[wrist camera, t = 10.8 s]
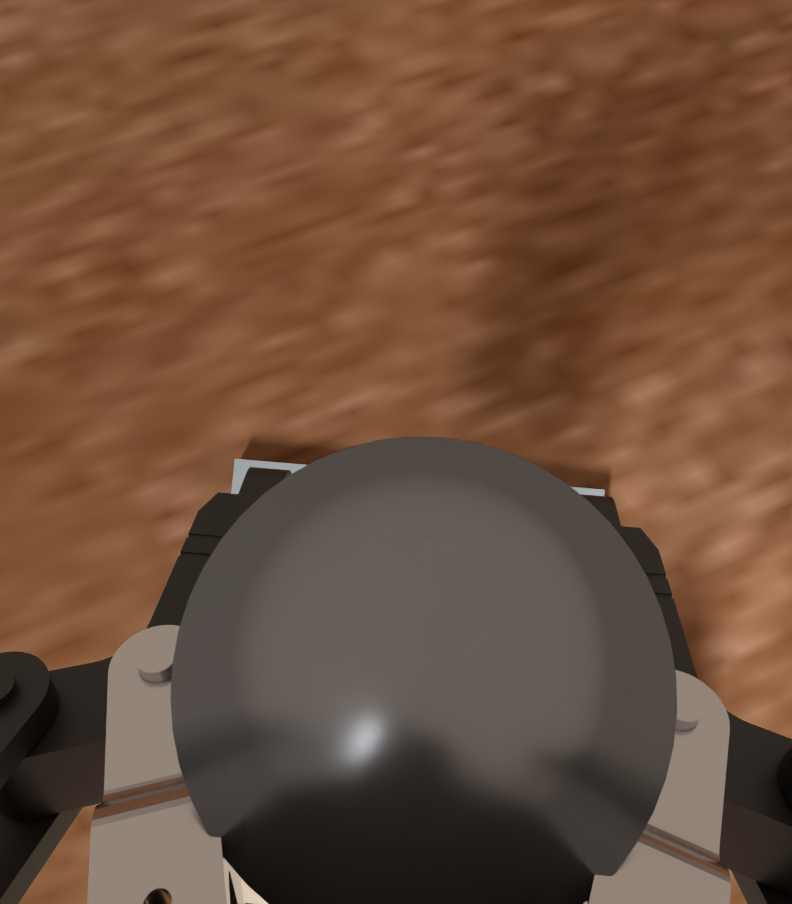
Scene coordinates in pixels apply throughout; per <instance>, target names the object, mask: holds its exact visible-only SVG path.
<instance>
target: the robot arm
mask: <svg viewBox="0 0 792 904" xmlns="http://www.w3.org/2000/svg"><path fill="white" fill-rule="evenodd" d="M290 474H291V471H290V470H281V469H269V468H256V467H250V468H249V469H248V470H247V472H246V475H245V478H244V480H243V483H242V485H241V488H240V491H239V493H238V494H229V493H217V494H216V495H215V496H214V497H213V498H212V499H211V500H210V501H209V502H208V503H207V504H205V505H204V506H203V507H202V508H201V509H200V510H199V511H198V513H197V515H196V518H195V520H194V522H193V525H192V527H191V529H190V531H189V537H188V538H186V541H185V543H184V545H183V548H182V550H181V555H180V556H179V557H178V559H177V561H176V564H175V566H174V568H173V570H172V573H171V575H170V577H169V580H168V582H167V584H166V587H165V589H164V591H163V593H162V596H161V598H160V600H159V603H158V605H157V607H156V609H155V612H154V614H153V616H152V619H151V621H150V623H149V625H148V627H147V628H146V629H145V630H143V631H140V632H138V633H137V634H135V635H133V636H132V637H130V638H129V639H128V640H126V641H125V642H124V643H123V644H122V645H121V646H120V647H119V648H118V650H117V651H116V652H115V654H114V656H112V657H110V658H107V659H104V660H102V661H98V662H94V663H89V664H84V665H79V666H73V667H68V668H63V669H58V670H53V671H48V670H47V668H46V665H45V664H44V663H43V662H42V661H41V660H40V659H39V658H37V657H36V656H34V655H31V654H28V653H24V652H5V653H0V904H18V903H19V901H20V900H21V898H22V897H23V895H24V894H25V892H26V891H27V889H28V888H29V886H30V885H31V883H32V882H33V880H34V879H35V877H36V876H37V874H38V873H39V871H40V870H41V868H42V867H43V865H44V864H45V863H46V861H47V860H48V858H49V857H50V855H51V854H52V852H53V851H54V849H55V848H56V846H57V845H58V843H59V842H60V840H61V839H62V837H63V836H64V834H65V833H66V831H67V830H68V828H69V827H70V825H71V824H72V822H73V821H74V819H75V818H76V816H77V815H78V813H79V812H80V810H81V809H82V807H85V806H90V805H94V804H98V803H101V804H99V805H97V806H96V807H95V810H94V813H93V818H92V825H91V838H90V859H89V880H88V902H87V904H244V899H243V892H242V885H241V879H240V876H239V875H238V874H237V873H236V871H235V870H234V869H233V868H232V867H231V866H230V864H229V863H228V862H227V861H226V860H225V859H224V857H223V850H222V842H221V838H220V837H210V836H209V834H208V833H207V831H206V830H205V828H204V826H203V824H202V821H201V819H200V817H199V815H198V813H197V811H196V809H195V807H194V805H193V803H192V801H191V799H190V796H189V793H188V790H187V787H186V784H185V781H184V778H183V775H182V772H181V769H180V766H179V761H178V756H177V751H176V746H175V741H174V736H173V729H172V714H171V699H170V696H171V678H172V663H173V657H174V652H175V647H176V641H177V636H178V630H179V627H180V624H181V621H182V618H183V615H184V612H185V609H186V605H187V602H188V599H189V597H190V595H191V593H192V590H193V588H194V586H195V584H196V582H197V580H198V577H199V575H200V573H201V571H202V569H203V567H204V566H205V564H206V562H207V561H208V559H209V558H210V556H211V554H212V553H213V551H214V550H215V548H216V546H217V545H218V543H219V542H220V540H221V539H222V538H223V537H224V535H225V534H226V533H227V532H228V530H229V529H230V528H231V527H232V526H233V524H234V523H235V522H236V521H237V520H238V518H239V517H240V516H241V515H242V514H243V513H244V512H245V511H246V510H247V509H248V508H249V507H250V506H251V505H252V504H254V503H255V502H256V501H257V500H258V499H259V498H260V497H261V496H262V495H263V494H264V493H266V492H267V491H268V490H270V489H271V488H272V487H274V486H275V485H277V484H278V483H279V482H281V481H282V480H283V479H285V478H286V477H288V476H289V475H290ZM580 495H582V494H580ZM582 496H583V497H584V498H586V499H587V500H588V501H589V502H590V503H591V504H592V505H593V506H594V507H595V508H596V509H597V510H598V511H599V512H600V513H601V514H602V515H603V516H604V517H605V518H606V519H607V520H608V521H609V522H610V523H611V524H612V526H613V527H614V528H615V530H616V531H617V532H618V533H619V535H620V536H621V537H622V539H623V540H624V541H625V542H626V544H627V545H628V546H629V548H630V549H631V550H632V552H633V554H634V556H635V557H636V559H637V561H638V562H639V564H640V566H641V567H642V569H643V571H644V572H645V574H646V576H647V577H648V580H649V582H650V584H651V587H652V589H653V591H654V593H655V596H656V598H657V600H658V603H659V605H660V607H661V610H662V613H663V617H664V620H665V624H666V627H667V630H668V634H669V637H670V641H671V646H672V652H673V659H674V665H675V671H676V686H677V718H676V728H675V738H674V746H673V751H672V755H671V759H670V764H669V768H668V772H667V777H666V780H665V783H664V786H663V788H662V791H661V794H660V796H659V799H658V802H657V804H656V807H655V810H654V812H653V814H652V816H651V818H650V820H649V821H648V823H647V825H646V827H645V829H644V831H643V833H642V834H641V836H640V838H639V840H638V842H637V844H636V845H635V846H634V848H633V849H632V850H631V852H630V853H629V855H628V856H627V857H626V859H625V860H624V861H623V863H622V864H621V866H620V867H619V868H618V870H617V871H616V872H615V873H614V874H613V875H612V876H602V875H595V876H594V879H593V882H592V886H591V889H590V892H589V896H588V899H587V901H586V902H585V903H583V904H730V891H731V888H730V875H729V871H728V869H730V870H731V871H732V873H733V875H734V877H735V879H736V881H737V883H738V885H739V887H740V889H741V891H742V893H743V895H744V897H745V899H746V901H747V903H748V904H792V739H790V738H787V737H785V736H782V735H779V734H777V733H774V732H771V731H769V730H766V729H763V728H761V727H758V726H755V725H753V724H750V723H748V722H746V721H743V720H741V719H739V718H737V717H736V716H734V715H732V714H731V713H729V712H728V711H726V709H725V707H724V705H723V703H722V702H721V700H720V699H719V697H718V696H717V695H716V694H715V693H714V692H713V691H712V690H711V689H710V688H709V687H708V686H707V685H706V684H704V683H703V682H702V681H700V680H699V679H698V677H697V674H696V672H695V669H694V666H693V662H692V659H691V656H690V652H689V649H688V646H687V642H686V639H685V636H684V633H683V629H682V626H681V623H680V619H679V616H678V613H677V609H676V606H675V603H674V599H672V598H671V596H672V593H671V590H670V586H669V583H668V580H667V579H666V573H665V570H664V566H663V563H662V560H661V556H660V553H659V550H658V549H657V548H656V546H655V545H654V544H653V543H652V542H651V540H650V539H649V538H648V537H647V536H646V534H645V533H644V532H643V531H642V529H641V528H634V527H622V526H621V525H620V521H619V517H618V513H617V509H616V505H615V502H614V500H613V498H612V497H607V496H595V495H582ZM245 904H252V903H245Z"/></svg>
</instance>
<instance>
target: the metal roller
mask: <svg viewBox="0 0 792 904" xmlns="http://www.w3.org/2000/svg"><path fill="white" fill-rule="evenodd" d="M170 699H171V714H172V729H173V736H174V741H175V746H176V751H177V756H178V761H179V766H180V769H181V772H182V775H183V778H184V781H185V784H186V787H187V790H188V793H189V796H190V799H191V801H192V803H193V805H194V807H195V809H196V811H197V813H198V815H199V817H200V819H201V821H202V824H203V826H204V828H205V830H206V831H207V833H208V834H209V836H210V837H220V838H221V842H222V850H223V857H224V859H225V860H226V861H227V862H228V863H229V864H230V866H231V867H232V868H233V869H234V870H235V871H236V873H237V874H238V875H239V876H240V877H241V878H242V880H243V881H244V882H245V883H246V884H247V885H248V886H249V887H250V888H251V889H252V890H253V891H255V892H256V893H257V894H258V895H259V896H260V897H261V898H262V899H264V900H265V901H266V902H267V903H268V904H583V903H585V902H586V901H587V899H588V896H589V892H590V889H591V886H592V882H593V879H594V876H595V875H602V876H612V875H613V874H614V873H615V872H616V871H617V870H618V868H619V867H620V866H621V864H622V863H623V861H624V860H625V859H626V857H627V856H628V855H629V853H630V852H631V850H632V849H633V848H634V846H635V845H636V844H637V842H638V840H639V838H640V836H641V834H642V833H643V831H644V829H645V827H646V825H647V823H648V821H649V820H650V818H651V816H652V814H653V812H654V810H655V807H656V804H657V802H658V799H659V796H660V794H661V791H662V788H663V786H664V783H665V780H666V777H667V772H668V768H669V764H670V759H671V755H672V751H673V746H674V738H675V728H676V718H677V686H676V671H675V665H674V659H673V652H672V646H671V641H670V637H669V634H668V630H667V627H666V624H665V620H664V617H663V613H662V610H661V607H660V605H659V603H658V600H657V598H656V596H655V593H654V591H653V589H652V587H651V584H650V582H649V580H648V577H647V576H646V574H645V572H644V571H643V569H642V567H641V566H640V564H639V562H638V561H637V559H636V557H635V556H634V554H633V552H632V550H631V549H630V548H629V546H628V545H627V544H626V542H625V541H624V540H623V539H622V537H621V536H620V535H619V533H618V532H617V531H616V530H615V528H614V527H613V526H612V524H611V523H610V522H609V521H608V520H607V519H606V518H605V517H604V516H603V515H602V514H601V513H600V512H599V511H598V510H597V509H596V508H595V507H594V506H593V505H592V504H591V503H590V502H589V501H588V500H587V499H586V498H584V497H583V496H582V495H580V494H579V493H578V492H577V491H575V490H574V489H573V488H571V487H570V486H569V485H567V484H566V483H565V482H564V481H562V480H561V479H559V478H558V477H556V476H554V475H552V474H551V473H549V472H547V471H546V470H544V469H542V468H541V467H539V466H537V465H535V464H534V463H532V462H529V461H527V460H525V459H522V458H520V457H517V456H515V455H513V454H510V453H508V452H506V451H503V450H500V449H496V448H493V447H489V446H486V445H482V444H478V443H475V442H470V441H463V440H456V439H450V438H443V437H403V438H394V439H385V440H377V441H373V442H369V443H365V444H361V445H357V446H353V447H349V448H346V449H343V450H341V451H338V452H336V453H333V454H331V455H328V456H325V457H323V458H320V459H318V460H316V461H314V462H312V463H310V464H309V465H307V466H305V467H303V468H301V469H300V470H298V471H296V472H294V473H292V474H290V475H289V476H288V477H286V478H285V479H283V480H282V481H281V482H279V483H278V484H277V485H275V486H274V487H272V488H271V489H270V490H268V491H267V492H266V493H264V494H263V495H262V496H261V497H260V498H259V499H258V500H257V501H256V502H255V503H254V504H252V505H251V506H250V507H249V508H248V509H247V510H246V511H245V512H244V513H243V514H242V515H241V516H240V517H239V518H238V520H237V521H236V522H235V523H234V524H233V526H232V527H231V528H230V529H229V530H228V532H227V533H226V534H225V535H224V537H223V538H222V539H221V540H220V542H219V543H218V545H217V546H216V548H215V550H214V551H213V553H212V554H211V556H210V558H209V559H208V561H207V562H206V564H205V566H204V567H203V569H202V571H201V573H200V575H199V577H198V580H197V582H196V584H195V586H194V588H193V590H192V593H191V595H190V597H189V599H188V602H187V605H186V609H185V612H184V615H183V618H182V621H181V624H180V627H179V630H178V636H177V641H176V647H175V652H174V657H173V663H172V678H171V696H170Z"/></svg>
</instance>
